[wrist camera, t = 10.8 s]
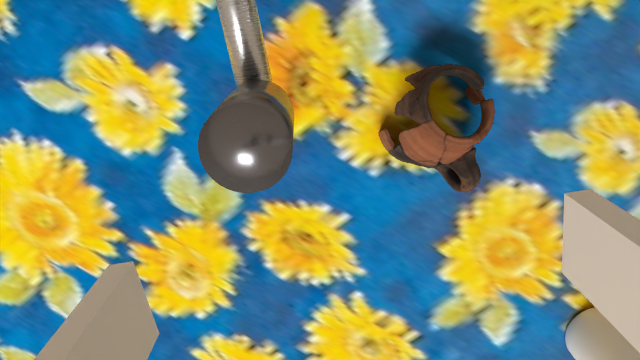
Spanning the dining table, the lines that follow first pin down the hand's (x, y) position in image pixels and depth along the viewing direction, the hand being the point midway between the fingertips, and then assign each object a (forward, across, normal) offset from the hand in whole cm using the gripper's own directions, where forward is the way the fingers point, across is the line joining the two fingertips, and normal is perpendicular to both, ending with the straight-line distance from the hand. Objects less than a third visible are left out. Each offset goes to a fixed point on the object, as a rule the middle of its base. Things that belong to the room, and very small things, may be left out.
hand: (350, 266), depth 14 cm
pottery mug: (+31, -10, +5) cm, 33 cm away
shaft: (+20, +5, -10) cm, 22 cm away
